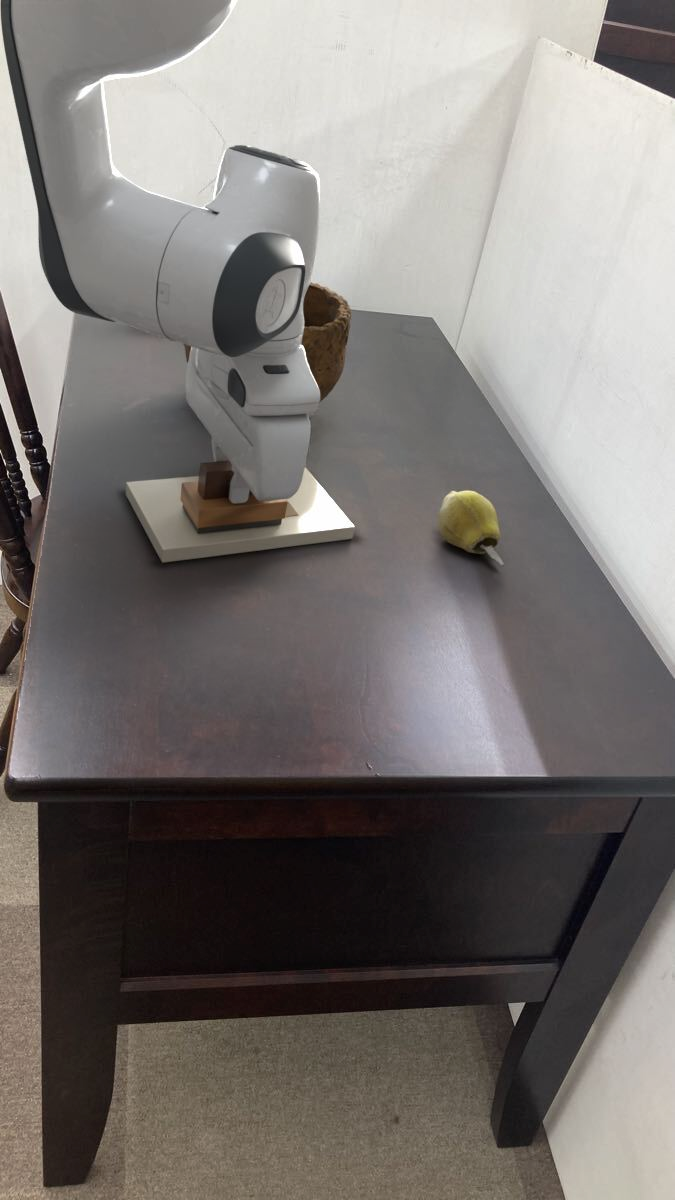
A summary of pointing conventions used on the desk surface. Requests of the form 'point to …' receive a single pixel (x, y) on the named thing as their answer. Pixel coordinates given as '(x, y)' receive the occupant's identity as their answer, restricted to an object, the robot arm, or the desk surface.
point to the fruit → (470, 523)
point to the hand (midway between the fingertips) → (230, 490)
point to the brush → (225, 503)
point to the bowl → (323, 335)
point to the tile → (178, 539)
